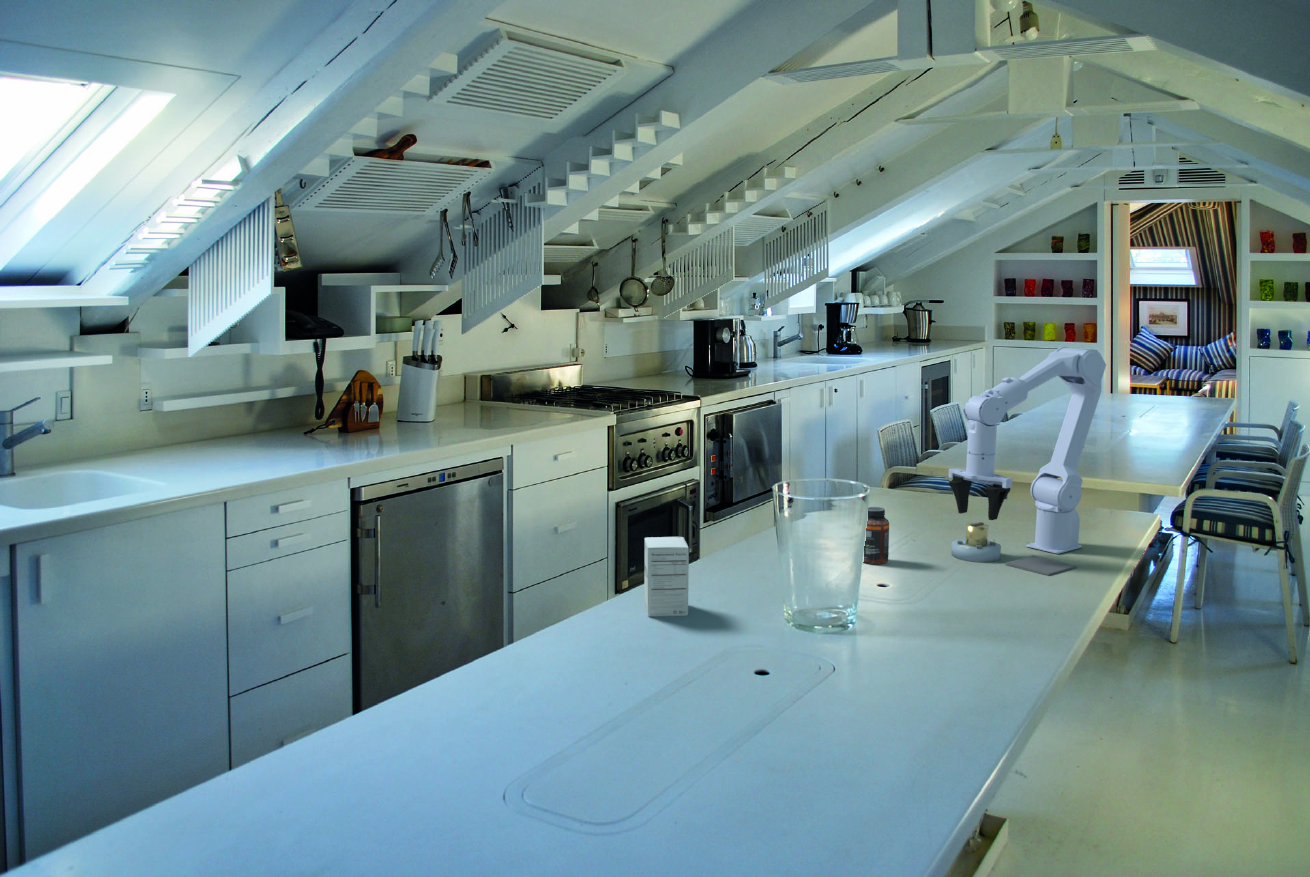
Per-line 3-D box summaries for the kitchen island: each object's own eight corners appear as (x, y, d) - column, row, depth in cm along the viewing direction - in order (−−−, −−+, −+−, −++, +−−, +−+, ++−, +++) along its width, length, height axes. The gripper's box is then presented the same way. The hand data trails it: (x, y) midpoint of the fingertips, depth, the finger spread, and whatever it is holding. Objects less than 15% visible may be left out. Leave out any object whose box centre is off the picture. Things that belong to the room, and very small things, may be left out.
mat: (1033, 557, 225) (1033, 555, 225) (1076, 567, 218) (1076, 565, 217) (1005, 564, 219) (1005, 562, 219) (1048, 575, 212) (1048, 573, 212)
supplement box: (643, 604, 192) (643, 536, 190) (684, 603, 193) (684, 535, 191) (646, 617, 185) (646, 547, 183) (688, 616, 186) (689, 546, 184)
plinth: (970, 547, 233) (971, 533, 233) (1009, 557, 225) (1010, 543, 225) (941, 554, 227) (942, 540, 227) (981, 564, 219) (981, 550, 219)
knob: (973, 540, 229) (975, 520, 228) (991, 545, 226) (992, 524, 225) (960, 543, 226) (962, 522, 226) (978, 548, 223) (979, 526, 222)
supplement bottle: (886, 558, 224) (888, 505, 223) (889, 565, 218) (892, 512, 217) (857, 557, 225) (859, 505, 223) (860, 564, 219) (862, 511, 217)
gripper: (940, 450, 226) (937, 512, 228) (999, 459, 215) (995, 525, 217) (961, 447, 230) (958, 508, 233) (1019, 456, 219) (1015, 520, 221)
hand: (977, 516), depth 225 cm, fingers open, 7 cm apart
